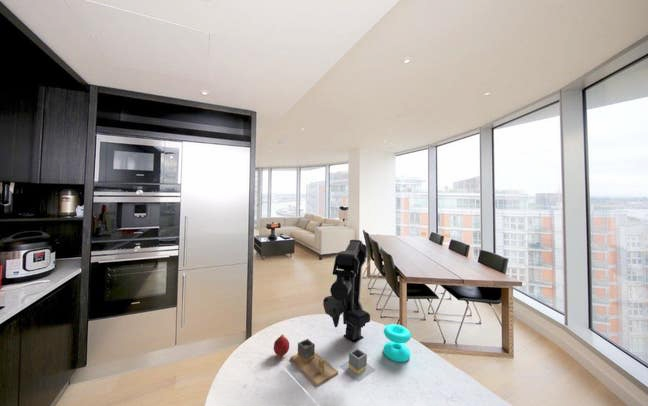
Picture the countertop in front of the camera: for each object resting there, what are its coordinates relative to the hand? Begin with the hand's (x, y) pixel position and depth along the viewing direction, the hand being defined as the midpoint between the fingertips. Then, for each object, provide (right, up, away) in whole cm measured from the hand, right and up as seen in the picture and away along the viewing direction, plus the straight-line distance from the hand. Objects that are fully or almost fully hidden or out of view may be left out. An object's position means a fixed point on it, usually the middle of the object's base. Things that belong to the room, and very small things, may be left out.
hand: (344, 332), depth 82 cm
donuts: (+21, -13, +8) cm, 26 cm away
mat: (+5, -13, -1) cm, 13 cm away
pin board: (-11, -12, 0) cm, 16 cm away
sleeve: (+5, -12, -1) cm, 13 cm away
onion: (-23, -12, +5) cm, 27 cm away
